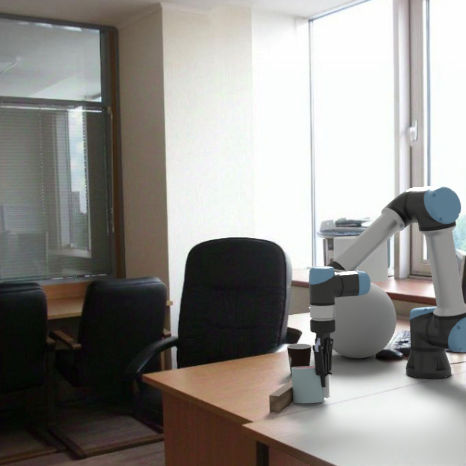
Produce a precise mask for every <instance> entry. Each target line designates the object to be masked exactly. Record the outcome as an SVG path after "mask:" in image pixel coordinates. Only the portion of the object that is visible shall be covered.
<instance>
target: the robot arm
mask: <svg viewBox="0 0 466 466" xmlns="http://www.w3.org/2000/svg"><path fill="white" fill-rule="evenodd" d="M461 211H462V204H461V199H460V197H459V196H458V194H457V192H455V191H454V190H452V188H450V187H447V186H441V185H440V186H439V185H432V186H422V187H419V186H418V187H417V186H416V187H415V186H414V187H412V188H409V189H407V190H404V191H403V192H402V193H400V194H398V195H397V196H395V198H394V199H392V200H391V201H389V203H388V204H386V206H384V207H383V208H382V209H381V212H380V213H381V214H380V215H379V216H378V217H377V218H376V219H375V220H374V221H373V222H372V223H371V224H369V225H368V227H366V228H365V229H364V230H363V231H362V232H361V233H360V234H359V235H357V236H358V237H357V238H356V239H355V240H354V241H353V242H352V243H351V244H350V245H348V246H347V247H346V248H345V249H344V250H343V251H342V252H341V253H340V254H339V255H338V256H337V257H336V258H335V259H334V258H333V260H331V261H330V262H329V263H327V265H326V266H313V267H310V268H309V274H308V289H309V296H308V297H309V306H308V307H307V308H308V311H309V317H310V318H311V319H310V320H309V331H310V332H311V333H313V334H315V338H314V344H313V345H311V346H312V347H311V350H312V353H313V358H314V359H313V360H314V366H315V370H316V375H319V376H320V379H321V386H322V387H323V394H324V399H329V398H330V375H331V376H332V375H333V372H332V368H333V366H332V364H333V350H332V348H333V341H334V340H333V338H330V333H333V332H335V330H336V327H335V319H333V318H335V298H337V297H348V296H360V295H365V294H367V293H368V292H369V290H370V287H371V283H372V282H371V281H370V277H369V275H368V274H367V273H366V272H365V271H356V270H357V269H358V268H359V267H360V266H361V265H362V264H363V263H364V262H365V261H366V260H367V259H368V258H369V257H370V256H371V255H373V254H374V253H375V252H376V251H377V250H378V249H379V248H380V247H381V246H382V245H383V244H384V243H385V242H386V241H387V242H388V240H389V239H390V238H392V237H393V236H394V235H395V234H396V233H397V232H402V231H404V230H405V229H406V227H409V226H410V225H412V224H417V225H418V232H419V233H421V234H422V235H424V238H425V244H426V249H427V250H426V251H427V257H428V260H429V267H430V273H431V279H432V285H433V291H434V296H435V303H436V306H425V307H415V308H412V309H411V310H410V312H409V334H410V337H409V339H410V352H409V355H408V358H407V362H406V366H405V374H406V375H407V376H410V377H414V378H417V379H430V380H431V379H443V378H448V377H450V376H451V375H452V366H451V362H450V361H449V357H448V354H447V351H446V350H450V351H452V352H455V353H457V352H458V353H466V303H465V299H464V295H463V287H462V282H461V276H460V270H459V265H458V264H459V263H458V257H457V253H456V252H457V251H456V245H455V240H454V234H453V231H454V229H455V228H456V227H457V222H456V221H457V220H458V219H459V217H460V214H461Z"/></svg>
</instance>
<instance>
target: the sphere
mask: <svg viewBox="0 0 466 466" xmlns="http://www.w3.org/2000/svg"><path fill="white" fill-rule="evenodd" d="M333 319H335V327H336V330H335V332H333V333H330V338H333V340H334V341H333V348H332V351H334V352H335V353H336V354H339V355H341V356H343V357H345V358H346V357H347V358H350V359H363V358H368V357H372V356H374V355H376V354H379V352H382V350H383V349H385V348H386V347H387V346H388V344H389V343H390V342H391V340H392V339H393V336H394V334H395V331H396V327H397V312H396V308H395V304H394V302H393V301H392V299H391V297H390V296H389V295H388V293H387V292H386V291H385V290H384V289H382V287H381V286H379V285H377V284H376V283H374V282H371V287H370V290H369V292H368V293H367V294H365V295H360V296H348V297H337V298H335V318H333Z"/></svg>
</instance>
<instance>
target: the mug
mask: <svg viewBox="0 0 466 466" xmlns="http://www.w3.org/2000/svg"><path fill="white" fill-rule="evenodd" d="M291 371H292V375H291V380H292V389H293V402H294V403H296V404H316V403H322V402H325V398H324V394H323V387H322V386H321V379H320V376H319V375H316V370H315V365H312V366H311V365H310V366H304V367H293V368H291Z"/></svg>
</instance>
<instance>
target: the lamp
mask: <svg viewBox="0 0 466 466" xmlns="http://www.w3.org/2000/svg"><path fill="white" fill-rule="evenodd" d="M358 236H359V235H352V236H351V235H349V236H337V237H333V260H334V259H335V258H336V257H337V256H338V255H339V254H340V253H341V252H342V251H343V250H344V249H345V248H346V247H347V246H348V245H350V244H351V243H352V242H353V241H354V240H355V239H356V238H357V237H358ZM388 263H389V259H388V240H387V241H386V242H385V243H384V244H383V245H382V246H381V247H380V248H379V249H378V250H377V251H376V252H375V253H374V254H373V255H371V256H370V257H369V258H368V259H367V260H366V261H365V262H364V263H363V264H362V265H361V266H360V267H359V268H358V269H357V270H356V271H365V272H366V273H367V274H368V275H369V277H370V281H371V283H380V282H385V281H388V279H389V273H388V272H389V266H388V265H389V264H388Z"/></svg>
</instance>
